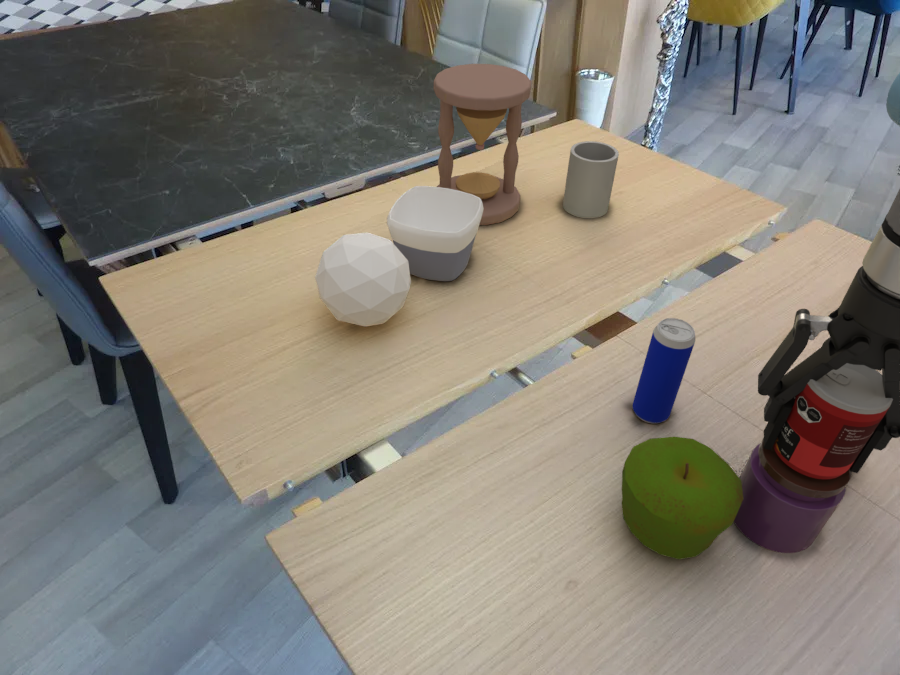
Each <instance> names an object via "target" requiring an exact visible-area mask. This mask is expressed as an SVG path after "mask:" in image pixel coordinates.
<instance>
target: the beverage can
mask: <svg viewBox="0 0 900 675" xmlns="http://www.w3.org/2000/svg"><path fill="white" fill-rule="evenodd" d="M695 343H696V331H695V328H694V327H693V325H691V324H690V323H689V322H687V321H686V320H683V319H680V318H675V317H668V318H667V317H666V318H664V319H661V320H660V321H659V322H657V324H656V326H655V327H653V330H652V334H651V338H650V341H649V345H648V349H647V352H646V355H645V359H644V362H643V366H642V370H641V373H640V376H639V380H638V383H637V386H636V391H635V394H634V397H633V400H632V401H633V402H632V410H633V412H634V414H635V415H636V417H637V418H638V419H640V420H641V421H643V422H644V423H648V424H652V425H653V424H654V425H655V424H660V423H662V422H663V423H664V422H665V421H667V420H668V419H669V418H670V416H671V414H672V413H671V412H672V410H673V407H674V405H675V402H676V399H677V396H678V393H679V390H680V387H681V385H682V381H683V379H684V375H685V372H686V371H687V366H688V364H689V361H690V358H691V355H692V352H693V350H694V346H695Z"/></svg>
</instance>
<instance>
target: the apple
mask: <svg viewBox="0 0 900 675" xmlns="http://www.w3.org/2000/svg"><path fill="white" fill-rule="evenodd" d="M621 474H622V475H621V511H622V519H623V521H624V523H625V524H626V525H627V527H628V530H629V531H630V532H631V534H632V535H633V536H634V537H635V538H636V539H637V540H638V541H639V543H641V545H642V546H644V547H646V548H648V549H649V550H651V551H652V552H655V554H656V553H657V554H658V555H660V556H664V557H668V558H671V559H675V560H683V559H691V558H696V557H698V556H699V555H701V554H702V553H703V552H705V551H706V550H707V549H709V548H710V547H711V545H712V544H713V543H714V541H715V540H716V539H717V538H718V537H719V536H720V535H721V534H722V533H723V532H725V531H726V530H728V529H729V528H730V527H731V526H733V524H734V520H735V517H736V515H737V513H738V510H739V508H740V506H741V503H742V501H743V491H742V483H741V480H740V478H739V477H740V476H739V475H738V474H737V473H736V472H735V471H734V469H733V468H732V466H731V465H730V464H729V463H728V462H727V461H725V459H724V458H722V457H721V456H720V455H719V454H718V453H717V452H716V451H715V450H714V449H713V448H711V447H710V446H707V445H705V444H704V443H702V442H701V441H698V440H696V439H694V438H688V437H681V436H665V437H655V438H649V439H647V440H643V441H642V442H640V443H638V444H636V445H634V446H633V447H632V448H631V450H630V451H629V454H628V455H627V457H626V459H625V461H624V463H623V467H622V472H621Z"/></svg>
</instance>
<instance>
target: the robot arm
mask: <svg viewBox="0 0 900 675" xmlns="http://www.w3.org/2000/svg"><path fill="white" fill-rule="evenodd" d="M885 106H886V112H887V115H888V117H889V118H890V120H891V121H892V122H894V123H895V124H896V125H897V126H898V127H900V72H899V73H898V74H897V75H896V76H895V78H894V79H893V82H892V83H891V85H890V87H889V89H888V93H887V97H886V105H885ZM861 264H862V265H861V266H860V267H859V268H858V269H857V271H856V273H855V275H854V277H853V278H852V280H851V283H850V285H849V286H848V289H847V291H846V292H845V295H844V296H843V299H842V300H841V303H840V305H839V306H838V307H837V308H836V309H835V310H833V311H832V312H831V313H829V314H828V315H818V314H817V315H815V314H811V312H810V310H808V309H807V308H800V309H798V310H796V312H795V315H794V320H793V326H792V328H791V330H790V331H789V332H788V334H786V336H785V337H784V339H783V340H782V342H781V343H780V345H778V347H777V349H776V350H775V351H774V353H773V354H772V355H771V357H770V358H769V359H768V360H767V362H766V364H765V365H764V366H763V367H762V369H761V370H760V371H759V373H758V375H757V393H758V395H759V396H763V397H765V396H768V399H767V401H766V403H765V405H764V407H763V420H764V422H765V423H766V425H765V427H764V430H763V437H764V449H768V450H771V449H772V447H773V445H774V443H775V441H776V439H777V437H778V435H779V433H780V431H781V430H782V428H783V426H784V424H785V422H786V420H787V418H788V416H789V414H790V412H791V410H792V400H791V399H792V398H794V397H795V396H796V395H798V394H799V393H801V392H802V391H803V390H804V389H805V387H806V385H807V383H808V382H809V381H810V380H811V379H813V380H815V381H817V380H819V379H820V378H822V377H823V376H824V375H826V374H827V373H829V372H830V371H831V370H833V369H834V370H838V369H839V368H841V367H842V366H843V365H845V364H846V363H849V364H853V365H865V366H867V367H869V368H871V369H875V370H877V371H878V372H881V374H882V381H883V387H884V393H885V398H892V399H893V401H892V403H891V405H890V407H889V409H888V410H887V412H886V414H885V415H884V417H883V418H882V420H881V421H880V423H879V425H878V426H877V428H876V429H875V431H874V432H873V434H872V435H871V437H870V438H869V440H868V441H867V443H866V444H865V446H864V447H863V449H862V450H861V452H860V453H859V455H858V456H857V458H856V459H855V461H854V462H853V464H852V465H851V467H850V468H849V469H850V472H852V473H854V474H858V473H859V472H860V471H861V469H862V467H863V466H864V464H865V463H866V461H867V460H868V459H869V457H870V455H871V454H872V453H873V451H874V450H877V451H882V450H885V449H886V447H887V446H888V444H889V443H890V441H891V440H892V439H898V438H900V188H898V191H897V193H896V194H895V197H894V199H893V201H892V203H891V205H890V208H889V209H888V212H887V214H885V217H884V218H883V222H882V223H881V225H880V226H879V228H878V231H877V232H876V233H875V236H874V238H873V239H872V241H871V243H870V245H869V248H868V249H867V251H866V253H865V255H864V256H863V258H862V262H861ZM825 331H827V333H828V335H829V337H828V338H827V339H826V340H824V342H823V343H822V344H821V346H820V347H819V348H818V349H817V350H816V351H814V352H812V353H811V354H810V355H809V356H808V357H806V358H805V359H804V360H803V361H801V362H800V363H798V364H797V365H795V366H794V367H793V368H791V367H792V366H793V365H794V363H795V362H796V361H797V360H798V358H799V357H800V356H801V354H803V352H804V351H805V349H806V347H807V345H808V343H809V341H814V340H815V339H816V337H818V335H819V334H820V333H821V332H825ZM790 368H791V369H790Z"/></svg>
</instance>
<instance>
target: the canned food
mask: <svg viewBox="0 0 900 675" xmlns="http://www.w3.org/2000/svg"><path fill="white" fill-rule="evenodd" d="M791 400H792V410H791V412H790V414H789V416H788V418H787V420H786V422H785V424H784V426H783V428H782V430H781V431H780V433H779V435H778V437H777V439H776V441H775V443H774V445H773V446H774V449H775V451H776V453H777V455H778V456H779V457H780V459H781V460H782V461H783V462H784V463H785V464H787V465H788V466H789V467H790V468H792V469H793V470H795V471H797V472H799V473H801V474H803V475H806V476H808V477H812V478H816V479H833V478H837V477H839V476H841V475H842V474H844V473H845V472H846V471H848V470H849V468H850V467H851V465H852V464H853V462H854V461H855V459H856V458H857V456H858V455H859V453H860V452H861V450H862V449H863V447H864V446H865V444H866V443H867V441H868V440H869V438H870V437H871V435H872V434H873V432H874V431H875V429H876V428H877V426H878V425H879V423H880V421H881V420H882V418H883V417H884V415H885V414H886V412H887V410H888V409H889V407H890V405H891V403H892V401H893V399H892V398H885V393H884V387H883V381H882V373H881V372H880V371H879V370H875V369H871V368H869V367H867V366H865V365H853V364H849V363H846V364H845V365H843V366H842V367H841V368H839V369H838V370H834V369H833V370H831V371H830V372H829V373H827V374H826V375H824V376H823V377H822V378H820V379H819V380H817V381H815V380H813V379H811V380H810V381H809V382H808V383H807V385H806V387H805V389H804V390H803V391H802V392H801V393H799V394H798V395H796V396H795V397H794V398H792V399H791Z"/></svg>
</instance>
